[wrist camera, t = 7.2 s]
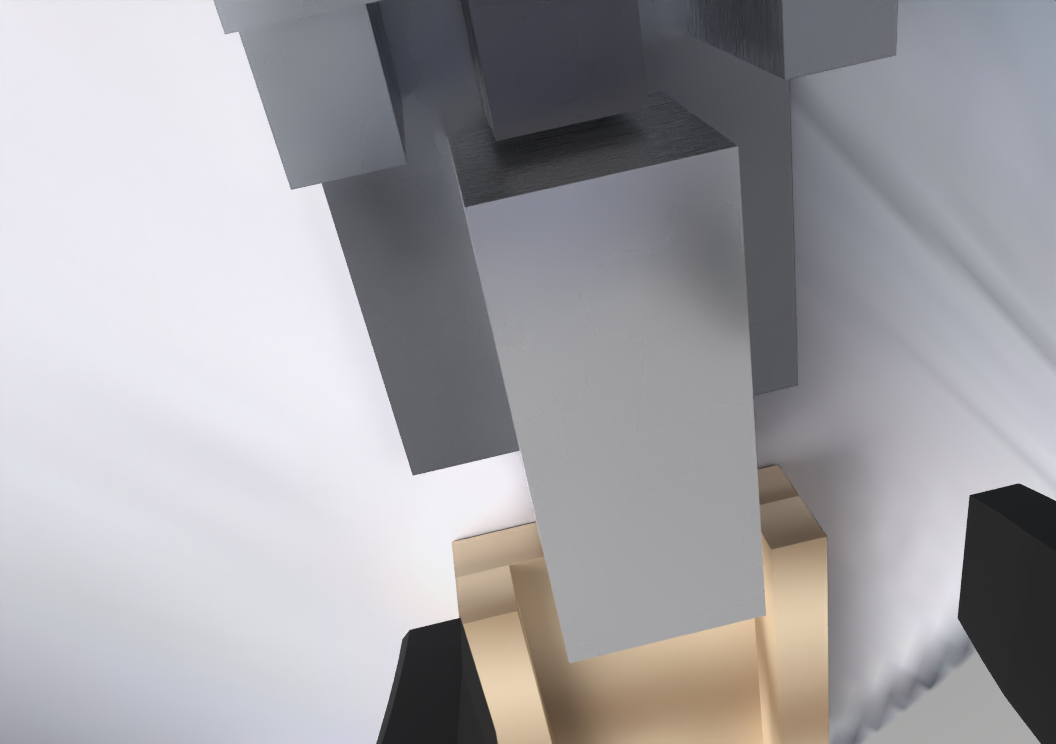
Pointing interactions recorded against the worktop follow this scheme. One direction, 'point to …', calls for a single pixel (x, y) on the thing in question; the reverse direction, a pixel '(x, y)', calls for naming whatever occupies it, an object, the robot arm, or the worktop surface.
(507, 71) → the dark gray rectangular block
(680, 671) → the rack
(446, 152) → the socket
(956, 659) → the worktop surface
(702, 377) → the tall gray pillar
